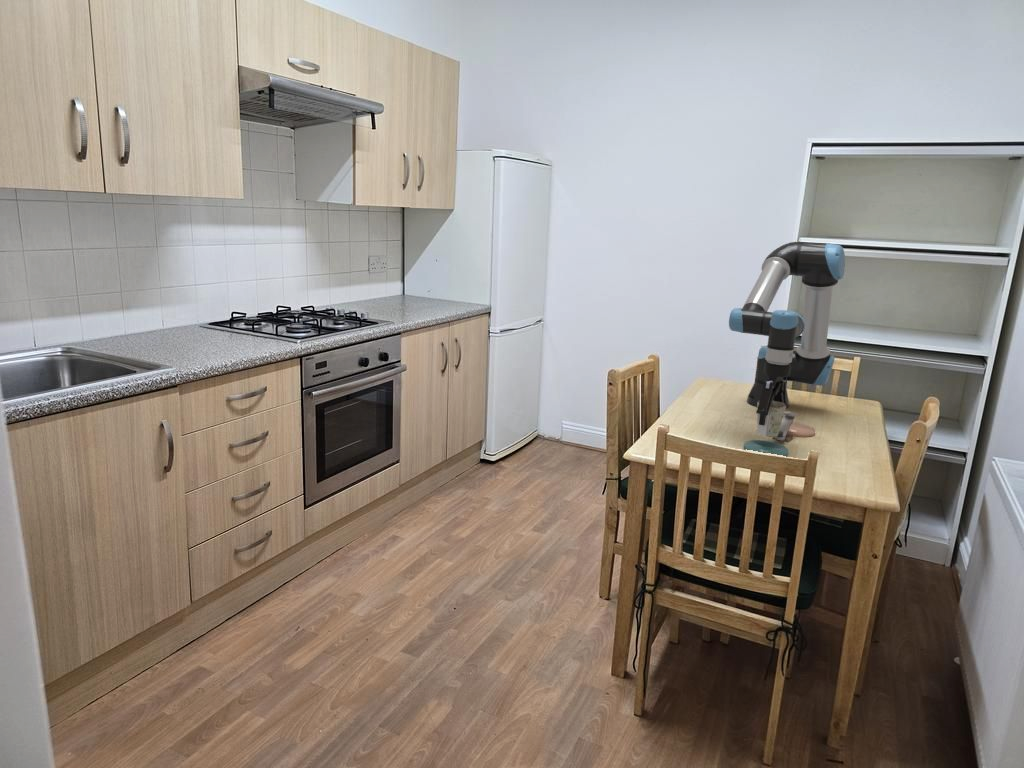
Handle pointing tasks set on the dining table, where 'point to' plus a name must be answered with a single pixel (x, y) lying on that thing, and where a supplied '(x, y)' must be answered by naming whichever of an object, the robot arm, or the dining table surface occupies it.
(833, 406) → the dining table surface
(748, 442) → the dish front
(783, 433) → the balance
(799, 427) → the dish back
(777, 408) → the mug
